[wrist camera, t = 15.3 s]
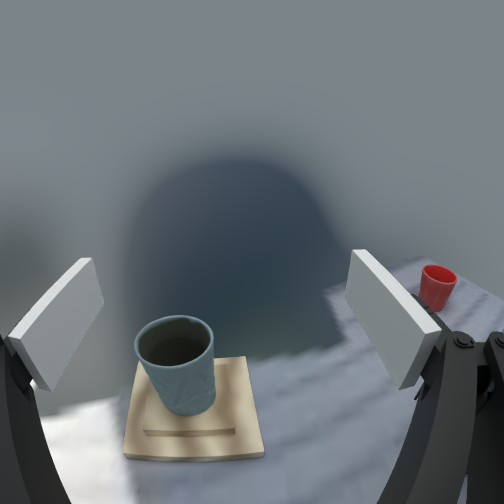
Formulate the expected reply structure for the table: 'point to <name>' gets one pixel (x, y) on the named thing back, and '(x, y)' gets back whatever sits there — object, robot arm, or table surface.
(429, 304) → the flower pot
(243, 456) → the stepped square base
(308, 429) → the table surface
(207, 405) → the blue-grey embossed cup
